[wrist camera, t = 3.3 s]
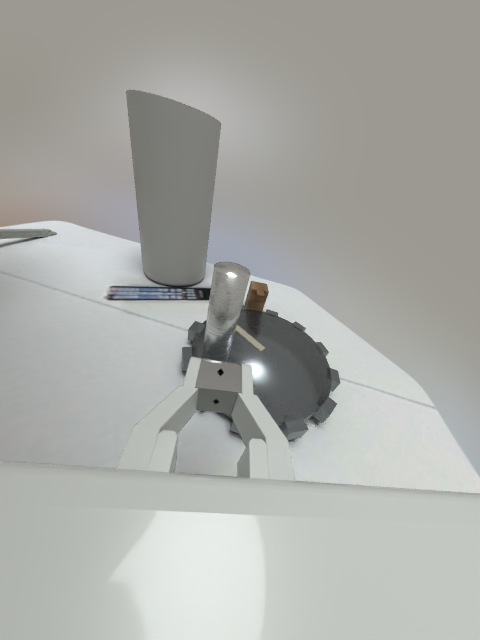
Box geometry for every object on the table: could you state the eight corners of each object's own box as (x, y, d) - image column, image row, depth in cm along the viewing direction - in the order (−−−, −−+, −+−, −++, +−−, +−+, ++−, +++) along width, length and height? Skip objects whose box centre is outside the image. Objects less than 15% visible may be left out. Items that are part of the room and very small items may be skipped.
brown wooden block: (245, 317, 35) (252, 293, 32) (245, 303, 38) (251, 280, 35) (261, 320, 35) (269, 297, 32) (259, 306, 39) (266, 284, 36)
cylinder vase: (162, 256, 47) (157, 112, 32) (211, 270, 47) (229, 131, 32) (130, 276, 37) (101, 80, 22) (192, 294, 37) (205, 107, 22)
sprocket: (158, 429, 17) (147, 314, 9) (198, 305, 33) (206, 225, 25) (361, 449, 19) (483, 370, 12) (307, 325, 35) (345, 257, 28)
